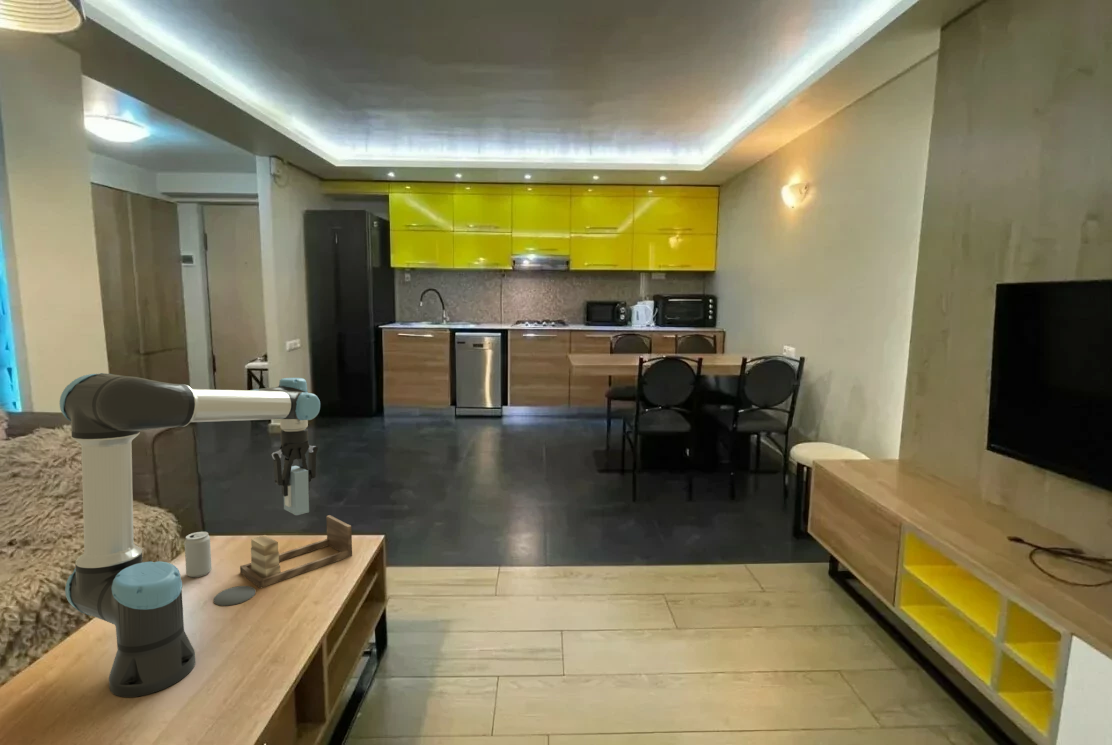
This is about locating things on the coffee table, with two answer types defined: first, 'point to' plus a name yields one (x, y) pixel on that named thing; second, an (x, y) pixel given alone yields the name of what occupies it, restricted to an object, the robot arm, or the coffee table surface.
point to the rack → (336, 538)
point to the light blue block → (298, 491)
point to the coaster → (234, 595)
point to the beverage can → (197, 554)
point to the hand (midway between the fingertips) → (296, 503)
